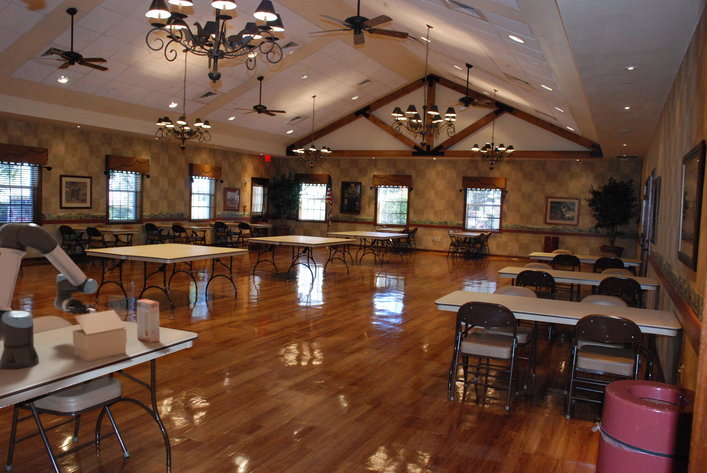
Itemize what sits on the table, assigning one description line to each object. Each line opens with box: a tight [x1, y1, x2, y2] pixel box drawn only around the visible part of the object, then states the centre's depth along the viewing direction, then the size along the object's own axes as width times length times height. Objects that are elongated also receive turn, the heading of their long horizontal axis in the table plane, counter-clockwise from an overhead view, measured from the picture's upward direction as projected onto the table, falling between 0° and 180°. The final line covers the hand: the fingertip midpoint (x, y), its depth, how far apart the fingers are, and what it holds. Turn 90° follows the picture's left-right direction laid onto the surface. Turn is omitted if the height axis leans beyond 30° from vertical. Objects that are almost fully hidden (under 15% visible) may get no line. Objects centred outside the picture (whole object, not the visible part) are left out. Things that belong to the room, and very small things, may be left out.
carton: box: [72, 327, 128, 363], centre depth 262 cm, size 15×19×12 cm
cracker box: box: [136, 298, 161, 344], centre depth 289 cm, size 14×6×21 cm, turn 47°
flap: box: [74, 309, 127, 335], centre depth 261 cm, size 14×19×1 cm
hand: (94, 312), depth 267 cm, fingers closed
